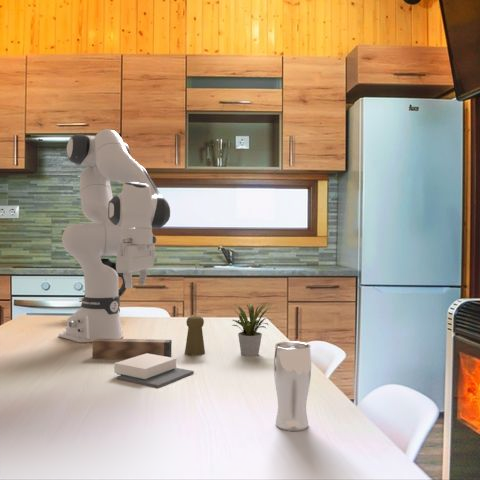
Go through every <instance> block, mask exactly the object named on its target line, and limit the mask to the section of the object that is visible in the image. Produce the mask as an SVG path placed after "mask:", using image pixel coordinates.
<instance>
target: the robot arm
mask: <svg viewBox="0 0 480 480" xmlns="http://www.w3.org/2000/svg"><path fill="white" fill-rule="evenodd" d="M66 153H67V158H68V161H70V163H73V164H75V165H80V166H81V165H82V166H86V167H85V168H84V169H83V170H82V171H81V172H80V177H79V178H80V179H79V195H80V204H81V211H82V214H83V215H84V217H85V218H86V219H88V220H89V221H91V223H90V222H88V223H87V222H84V223H83V222H82V223H76V224H70V225H68V226H67V227H66V228H65V229H64V231H63V233H62V236H61V237H62V238H61V242H62V246H63V248H64V250H65V251H66V252H67V253H68V254H69V255H70V256H72V257H73V258H74V259H75V260H76V261H77V262H78V264H79V266H80V268H81V270H82V272H83V279H84V295H85V296H84V295H83V297H82V298H79V300H78V302H79V303H81V304H80V308H79V309H78V310H76V311H75V312H74V313H72V314H71V315H70V316H69V317H68V318H67V321H66V324H65V325H66V326H65V331H62V332H59V333H58V337H59V338H63V339H66V340H70V341H73V342H77V343H91V342H92V343H93V340H95V339H97V338H103V339H123V338H124V335H123V329H122V324H121V315H120V313H119V308H120V306H121V305H120V304H121V296H119V295H118V291H119V289H120V287H119V279H120V278H119V277H120V276H118V273H123V277H124V280H125V288H126V290H127V289H128V290H130V289H132V288H134V282H133V278H132V276H133V273H134V272H138V273H139V276H138V279H137V284H138V285H139V286H144V285H146V280H147V276H148V270H150V269H153V267H154V264H155V258H156V257H155V255H156V246H155V245H157V237H156V235H154V234H153V229H157V230H158V229H162V227H164V226H165V225H166V224H167V223H168V222H169V220H170V218H171V207H170V204H169V203H168V201H167V200H166V198H165V197H164V196H163V195H162V194H161V193H160V191H159V189H158V187H157V186H156V185H155V183H154V181H153V180H152V177H151V176H150V175H149V173H148V171H147V170H146V168H145V167H144V166H143V165H142V164H140V163H138V161H136V160H135V159H134V158H133V157H132V156H131V150H130V147H129V145H128V144H127V143H126V142H124V140H123V139H122V137H121V136H120V134H119V133H118V132H117V131H115V130H113V129H102V130H101V131H98V132H97V133H96V135H85V134H83V133H82V134H80V133H79V134H73V135H72V136H71V137H70V138H69V140H68V142H67V145H66ZM111 181H112V182H117V183H120V184H123V185H122V189H121V192H120V193H119V194H118V195H115V196H113V191H112V186H111V185H112V184H111ZM92 222H93V223H92ZM103 256H116V258H115V259H116V260H115V262H116V270H117V272H116V271H115V270H114V269H113V268H111V267H109V266H107V265H104V264H103V263H102V261H101V259H102V257H103Z"/></svg>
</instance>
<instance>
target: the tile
mask: <svg viewBox="0 0 480 480" xmlns="http://www.w3.org/2000/svg"><path fill="white" fill-rule="evenodd" d="M113 368H114V371H113V373H114V374H116V375H118V376H120V375H123V376H128V377H133V378H137V379H142V380H147V379H149V378H152V377H155V376H157V375H160V374H163V373H165V372H168V371H171V370H173V369H174V368H177V358H176V357H172V356H171V357H166V356H160V355H154V354H148V353H146V354H143V355H140V356H136V357H133V358H130V359H122V360H120V361H118V362H117V361H116V362H114V367H113Z"/></svg>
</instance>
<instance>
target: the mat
mask: <svg viewBox="0 0 480 480" xmlns="http://www.w3.org/2000/svg"><path fill="white" fill-rule="evenodd" d="M193 374H195V371H194V370H191V369H185V368H179V367H176V368H174V369H173V370H171V371H168V372H165V373H163V374H160V375H157V376H155V377H152V378H149V379H147V380H142V379H137V378H133V377H128V376H123V375H118V376H116V379H117V380H121V381H126V382H129V383H134V384H139V385H143V386H148V387H153V388H157V389H158V388H161V387H164V386H166V385H169V384H171V383H173V382H176V381H178V380H181V379H183V378H185V377H188V376H191V375H193Z"/></svg>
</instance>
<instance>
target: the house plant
mask: <svg viewBox="0 0 480 480" xmlns="http://www.w3.org/2000/svg"><path fill="white" fill-rule="evenodd" d="M246 302H247V303H246ZM246 302H244V304H245V306H247V309H248V315H249V318H248V316H247V314H246V312H245V310H243V308H241V306H239V305H238V304H235V306H236V307H237V308H238V310H239V313H238V311H237V310H235V309H233V308H232V307H230V309H231V310H233V311H234V312H235V313H237V315H238V318H239V319H238V320H237V319H232V321H233V322H235V323H236V324H232V325H231V327H233V326H234V327H237V328H239V329H240V330H241V331H240V332H238V334H237V336H238V342H239V349H240V355H241V356H243V357H247V358H248V357H258V356H259V353H260V347H261V342H262V336H263V333H262V332H259V331H258V329H260V328H264V329H267V328H266V326H264V324H265V325H267V326H268V327H269V323H268V322H264V321H265V320H267V319H268V317H265V318H263V319H262V317H263V316H264V314H266V312H267V311H269V310H270V309H273V308H274V309H275V308H277V307H274V306H271V307H268V308H266V309H265V310H264V311H263V309H264V308H265V307H266V306H267V305H269V303H266V304H263V305H261V306H260V305H258V306H257V307H256V309H255V306H254V305H253V304H252V303H251V302H250V304H249V301H247V300H246ZM262 311H263V312H262ZM260 314H261V315H260ZM259 315H260V316H259ZM261 319H262V320H261ZM237 324H238V325H237ZM239 325H240V326H239ZM261 325H262V326H261ZM241 327H242V328H241Z"/></svg>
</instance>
